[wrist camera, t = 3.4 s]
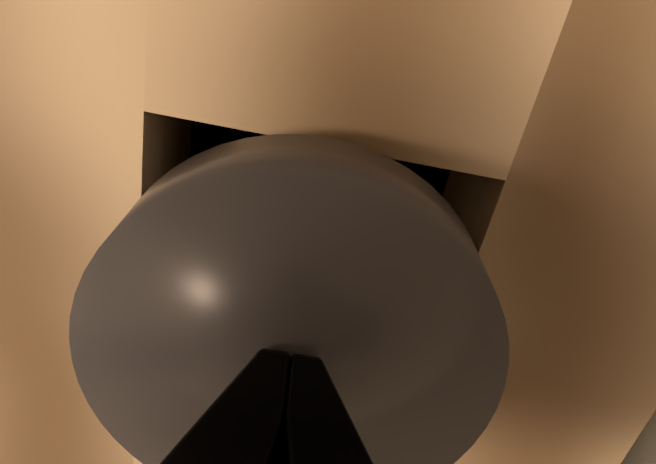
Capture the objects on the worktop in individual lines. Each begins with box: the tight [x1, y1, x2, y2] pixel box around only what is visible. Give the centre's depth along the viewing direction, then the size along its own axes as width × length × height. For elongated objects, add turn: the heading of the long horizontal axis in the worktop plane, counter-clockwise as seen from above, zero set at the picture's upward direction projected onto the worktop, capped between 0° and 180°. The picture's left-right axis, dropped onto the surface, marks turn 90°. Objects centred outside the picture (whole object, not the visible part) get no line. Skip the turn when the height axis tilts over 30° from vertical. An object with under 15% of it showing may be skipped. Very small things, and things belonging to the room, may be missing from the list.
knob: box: [69, 134, 509, 464], centre depth 9 cm, size 6×6×4 cm
